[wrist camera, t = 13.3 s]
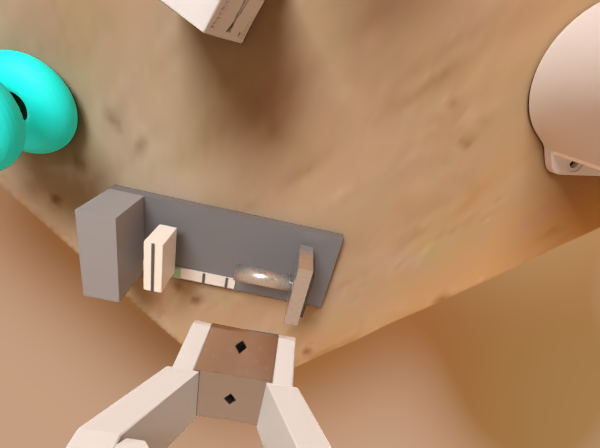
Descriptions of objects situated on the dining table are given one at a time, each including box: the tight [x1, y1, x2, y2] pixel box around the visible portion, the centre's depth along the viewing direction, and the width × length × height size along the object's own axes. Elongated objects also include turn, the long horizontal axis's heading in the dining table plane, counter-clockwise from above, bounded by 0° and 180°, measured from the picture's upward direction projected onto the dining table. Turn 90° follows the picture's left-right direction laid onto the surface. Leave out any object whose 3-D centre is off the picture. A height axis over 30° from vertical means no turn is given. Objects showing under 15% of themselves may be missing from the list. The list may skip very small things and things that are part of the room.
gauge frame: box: [75, 185, 343, 307], centre depth 39 cm, size 28×11×7 cm, turn 77°
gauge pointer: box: [144, 224, 177, 292], centre depth 37 cm, size 2×6×4 cm, turn 168°
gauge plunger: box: [233, 244, 315, 326], centre depth 38 cm, size 9×8×5 cm
